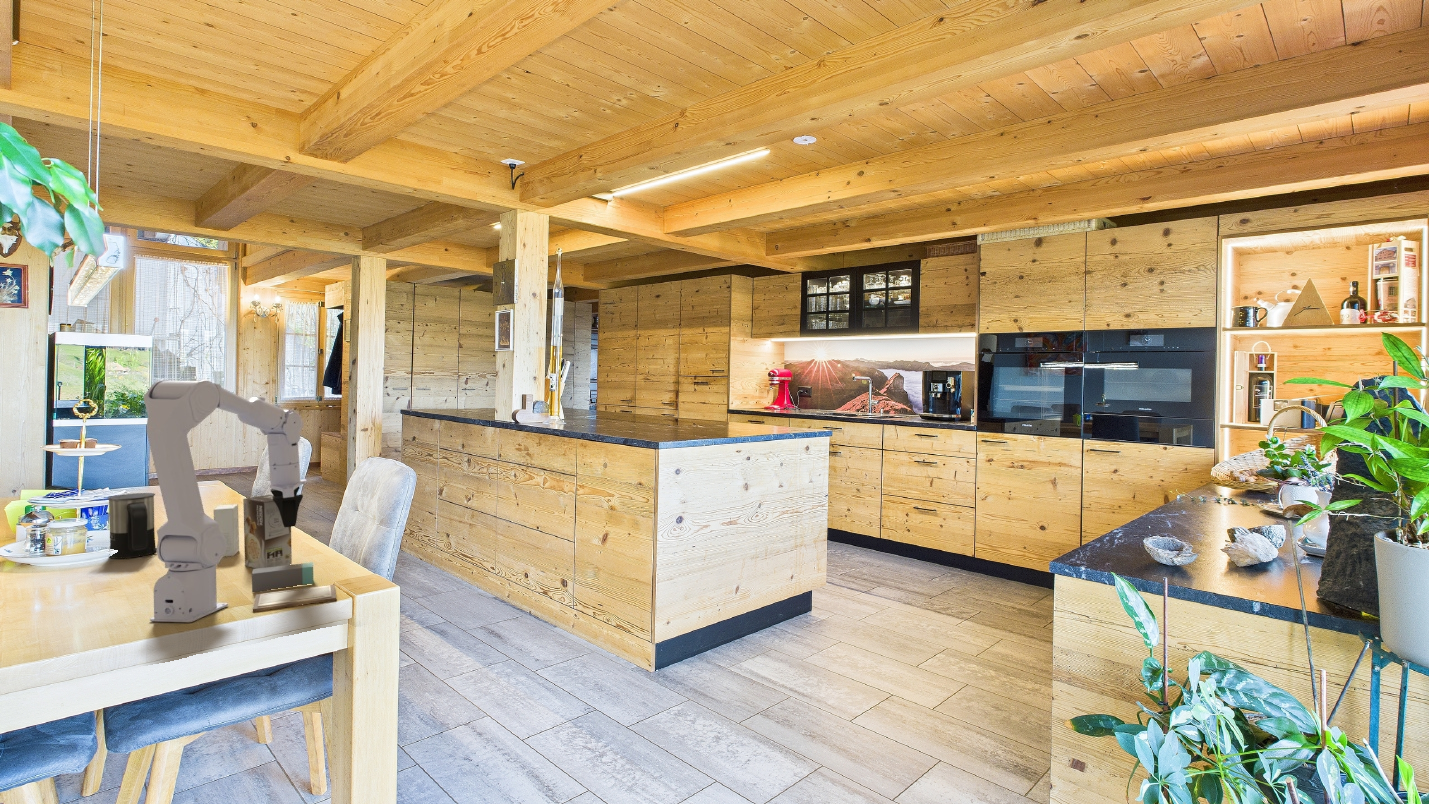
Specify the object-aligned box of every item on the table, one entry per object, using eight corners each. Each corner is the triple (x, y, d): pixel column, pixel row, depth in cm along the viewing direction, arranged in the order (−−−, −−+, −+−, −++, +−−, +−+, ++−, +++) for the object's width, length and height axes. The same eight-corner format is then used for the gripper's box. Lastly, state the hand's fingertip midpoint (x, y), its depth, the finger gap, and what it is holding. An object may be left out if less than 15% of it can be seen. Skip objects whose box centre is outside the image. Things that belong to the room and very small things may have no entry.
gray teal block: (252, 592, 144) (251, 573, 144) (253, 587, 147) (253, 568, 147) (313, 585, 149) (313, 566, 149) (313, 580, 153) (313, 562, 153)
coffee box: (293, 564, 165) (292, 497, 164) (265, 571, 159) (264, 502, 158) (270, 559, 169) (269, 494, 168) (242, 565, 163) (241, 498, 163)
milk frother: (99, 556, 170) (98, 496, 169) (171, 542, 184) (170, 487, 184) (134, 563, 164) (133, 501, 164) (205, 548, 179) (204, 491, 178)
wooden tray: (252, 612, 132) (252, 607, 132) (255, 597, 141) (255, 593, 141) (336, 600, 139) (336, 596, 139) (334, 587, 148) (334, 583, 148)
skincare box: (219, 551, 175) (218, 504, 175) (239, 550, 177) (238, 503, 177) (213, 557, 170) (212, 509, 169) (234, 556, 172) (233, 508, 171)
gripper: (308, 466, 151) (312, 527, 152) (302, 455, 163) (305, 512, 164) (269, 470, 147) (274, 532, 148) (266, 459, 159) (270, 517, 160)
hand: (288, 522), depth 156 cm, fingers open, 7 cm apart
